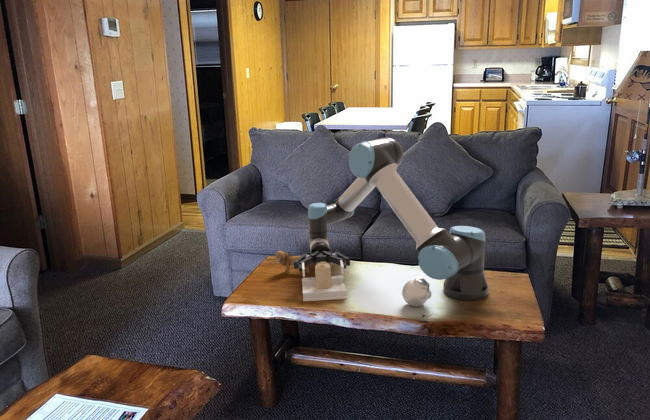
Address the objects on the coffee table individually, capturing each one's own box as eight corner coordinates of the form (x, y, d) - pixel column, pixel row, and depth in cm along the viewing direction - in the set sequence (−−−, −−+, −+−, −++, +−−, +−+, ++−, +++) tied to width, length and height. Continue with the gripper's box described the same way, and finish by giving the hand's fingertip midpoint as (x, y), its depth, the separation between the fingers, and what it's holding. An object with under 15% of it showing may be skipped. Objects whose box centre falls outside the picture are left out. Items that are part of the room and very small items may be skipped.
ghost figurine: (423, 314, 172) (423, 285, 169) (397, 306, 177) (397, 279, 175) (435, 303, 179) (436, 275, 176) (410, 296, 184) (410, 269, 182)
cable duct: (343, 282, 198) (342, 275, 197) (346, 298, 185) (346, 290, 184) (302, 285, 197) (302, 277, 196) (303, 301, 184) (302, 293, 184)
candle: (329, 292, 188) (328, 266, 185) (314, 291, 189) (313, 265, 186) (332, 286, 193) (331, 260, 190) (317, 285, 194) (316, 259, 191)
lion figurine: (276, 275, 207) (274, 253, 205) (276, 270, 213) (275, 248, 210) (314, 273, 208) (312, 251, 205) (313, 268, 213) (312, 247, 210)
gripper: (352, 257, 208) (359, 279, 187) (288, 261, 206) (287, 284, 186) (352, 239, 205) (358, 259, 185) (287, 243, 204) (286, 263, 184)
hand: (323, 271), depth 186 cm, fingers open, 13 cm apart
